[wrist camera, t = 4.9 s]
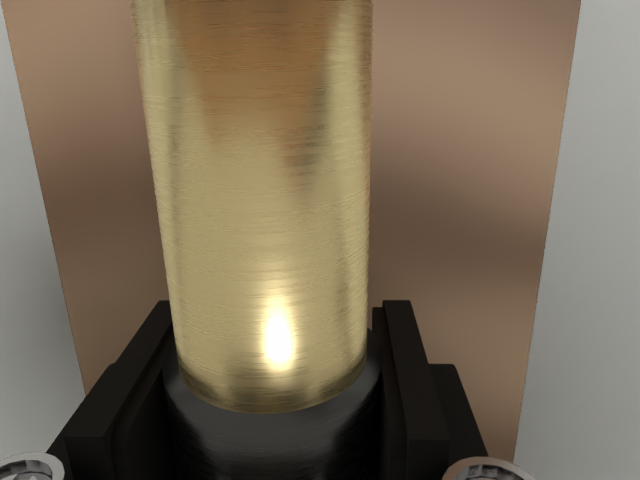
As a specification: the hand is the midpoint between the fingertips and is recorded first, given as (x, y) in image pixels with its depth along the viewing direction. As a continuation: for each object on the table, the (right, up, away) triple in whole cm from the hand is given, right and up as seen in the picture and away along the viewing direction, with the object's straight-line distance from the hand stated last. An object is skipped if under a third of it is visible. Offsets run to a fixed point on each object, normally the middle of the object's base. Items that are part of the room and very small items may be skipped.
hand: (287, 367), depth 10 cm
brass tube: (0, -1, 0) cm, 1 cm away
